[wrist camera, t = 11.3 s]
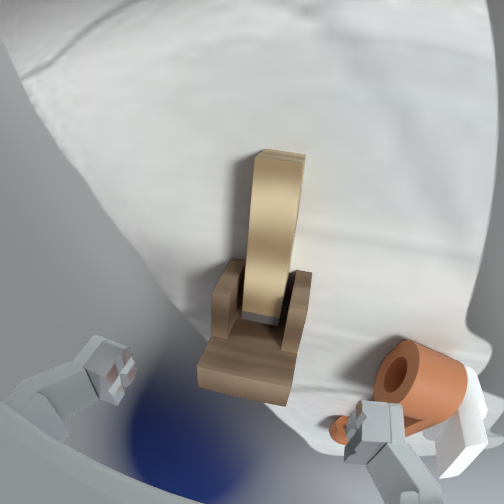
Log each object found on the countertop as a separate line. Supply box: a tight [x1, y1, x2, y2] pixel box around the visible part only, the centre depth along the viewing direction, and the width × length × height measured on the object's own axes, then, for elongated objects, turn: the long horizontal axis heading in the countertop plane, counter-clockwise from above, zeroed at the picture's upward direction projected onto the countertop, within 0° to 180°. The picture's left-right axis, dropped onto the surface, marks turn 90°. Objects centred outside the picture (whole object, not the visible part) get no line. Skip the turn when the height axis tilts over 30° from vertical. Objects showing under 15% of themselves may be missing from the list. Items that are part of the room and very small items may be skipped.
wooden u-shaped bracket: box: [197, 258, 312, 407], centre depth 28 cm, size 8×8×10 cm
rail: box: [242, 149, 306, 326], centre depth 28 cm, size 15×4×4 cm, turn 175°
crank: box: [329, 340, 468, 445], centre depth 32 cm, size 20×8×8 cm, turn 158°
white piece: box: [422, 366, 488, 478], centre depth 29 cm, size 9×9×12 cm
